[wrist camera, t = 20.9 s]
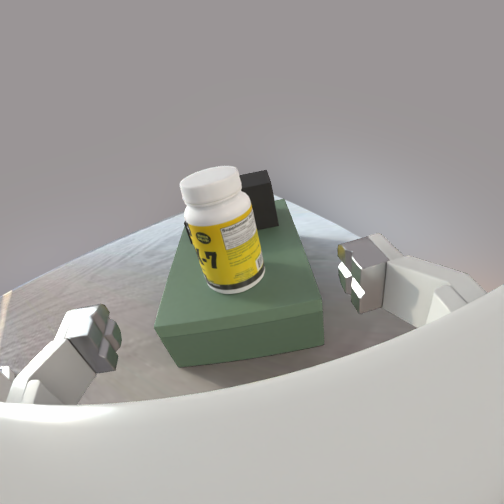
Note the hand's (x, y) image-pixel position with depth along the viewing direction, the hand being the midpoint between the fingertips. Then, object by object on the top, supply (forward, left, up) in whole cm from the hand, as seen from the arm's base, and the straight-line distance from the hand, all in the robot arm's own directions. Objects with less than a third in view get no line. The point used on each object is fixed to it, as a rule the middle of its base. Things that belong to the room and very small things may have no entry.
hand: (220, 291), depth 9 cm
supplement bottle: (-1, +11, -8) cm, 14 cm away
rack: (-1, +16, -13) cm, 21 cm away
